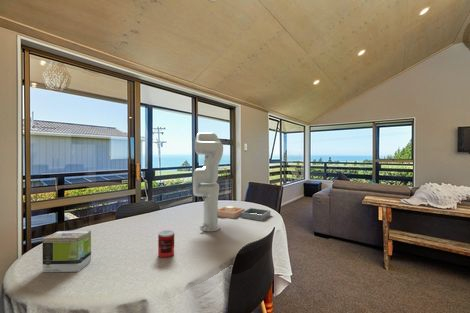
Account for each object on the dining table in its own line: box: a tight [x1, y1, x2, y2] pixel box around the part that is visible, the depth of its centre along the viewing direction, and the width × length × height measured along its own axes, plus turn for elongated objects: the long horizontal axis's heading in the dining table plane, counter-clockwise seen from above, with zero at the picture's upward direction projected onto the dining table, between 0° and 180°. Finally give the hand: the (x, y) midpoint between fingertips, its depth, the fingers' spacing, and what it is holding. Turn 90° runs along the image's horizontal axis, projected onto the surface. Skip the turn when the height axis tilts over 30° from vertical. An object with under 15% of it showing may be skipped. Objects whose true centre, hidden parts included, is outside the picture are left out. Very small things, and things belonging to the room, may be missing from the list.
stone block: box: [224, 205, 236, 213], centre depth 191 cm, size 6×6×6 cm
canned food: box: [157, 229, 175, 259], centre depth 116 cm, size 8×8×11 cm
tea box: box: [42, 230, 92, 273], centre depth 103 cm, size 15×10×15 cm, turn 92°
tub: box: [218, 205, 246, 219], centre depth 191 cm, size 18×18×5 cm
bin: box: [239, 207, 271, 222], centre depth 185 cm, size 18×18×5 cm
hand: (209, 178), depth 189 cm, fingers open, 9 cm apart
